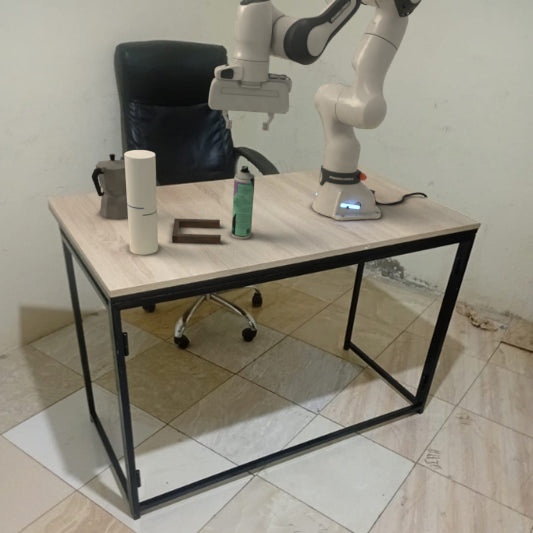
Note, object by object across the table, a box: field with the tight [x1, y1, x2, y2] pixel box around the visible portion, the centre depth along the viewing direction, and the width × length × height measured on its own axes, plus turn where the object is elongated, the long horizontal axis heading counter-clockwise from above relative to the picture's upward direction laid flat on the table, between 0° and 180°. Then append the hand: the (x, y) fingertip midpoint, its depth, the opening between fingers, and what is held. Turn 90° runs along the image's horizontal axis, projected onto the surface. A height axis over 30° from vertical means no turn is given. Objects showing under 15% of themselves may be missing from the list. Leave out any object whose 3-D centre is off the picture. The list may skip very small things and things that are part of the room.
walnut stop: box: [171, 217, 222, 245], centre depth 141 cm, size 13×12×2 cm
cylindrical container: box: [123, 149, 159, 256], centre depth 125 cm, size 7×7×25 cm
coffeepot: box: [91, 153, 128, 220], centre depth 145 cm, size 15×9×18 cm, turn 158°
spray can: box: [231, 165, 256, 240], centre depth 139 cm, size 6×6×20 cm
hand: (247, 129), depth 129 cm, fingers open, 8 cm apart
